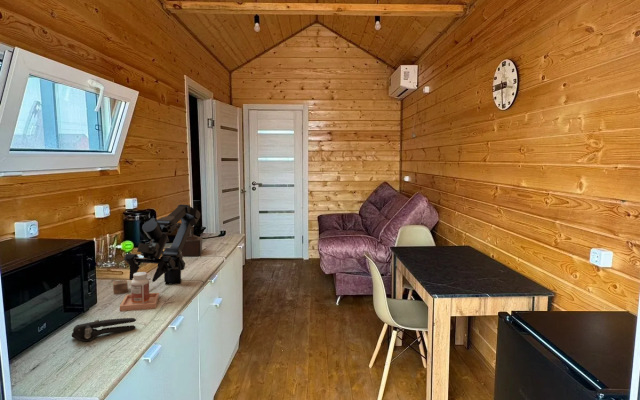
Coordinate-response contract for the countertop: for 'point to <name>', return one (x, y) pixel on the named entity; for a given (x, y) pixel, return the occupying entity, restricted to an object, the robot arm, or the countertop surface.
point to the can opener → (88, 333)
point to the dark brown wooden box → (191, 244)
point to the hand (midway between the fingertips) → (141, 280)
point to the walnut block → (120, 286)
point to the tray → (129, 305)
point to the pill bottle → (140, 288)
